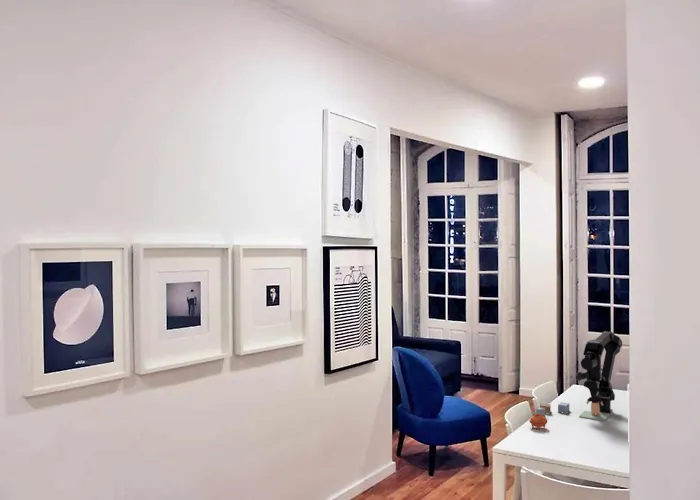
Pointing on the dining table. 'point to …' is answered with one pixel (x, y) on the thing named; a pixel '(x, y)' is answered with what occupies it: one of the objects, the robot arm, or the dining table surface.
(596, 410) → the grandmother figurine
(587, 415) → the sage mat
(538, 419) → the pot
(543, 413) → the grey capsule
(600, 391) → the robot arm
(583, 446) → the dining table surface
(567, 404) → the slate-blue block
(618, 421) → the dining table surface
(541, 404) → the walnut block
